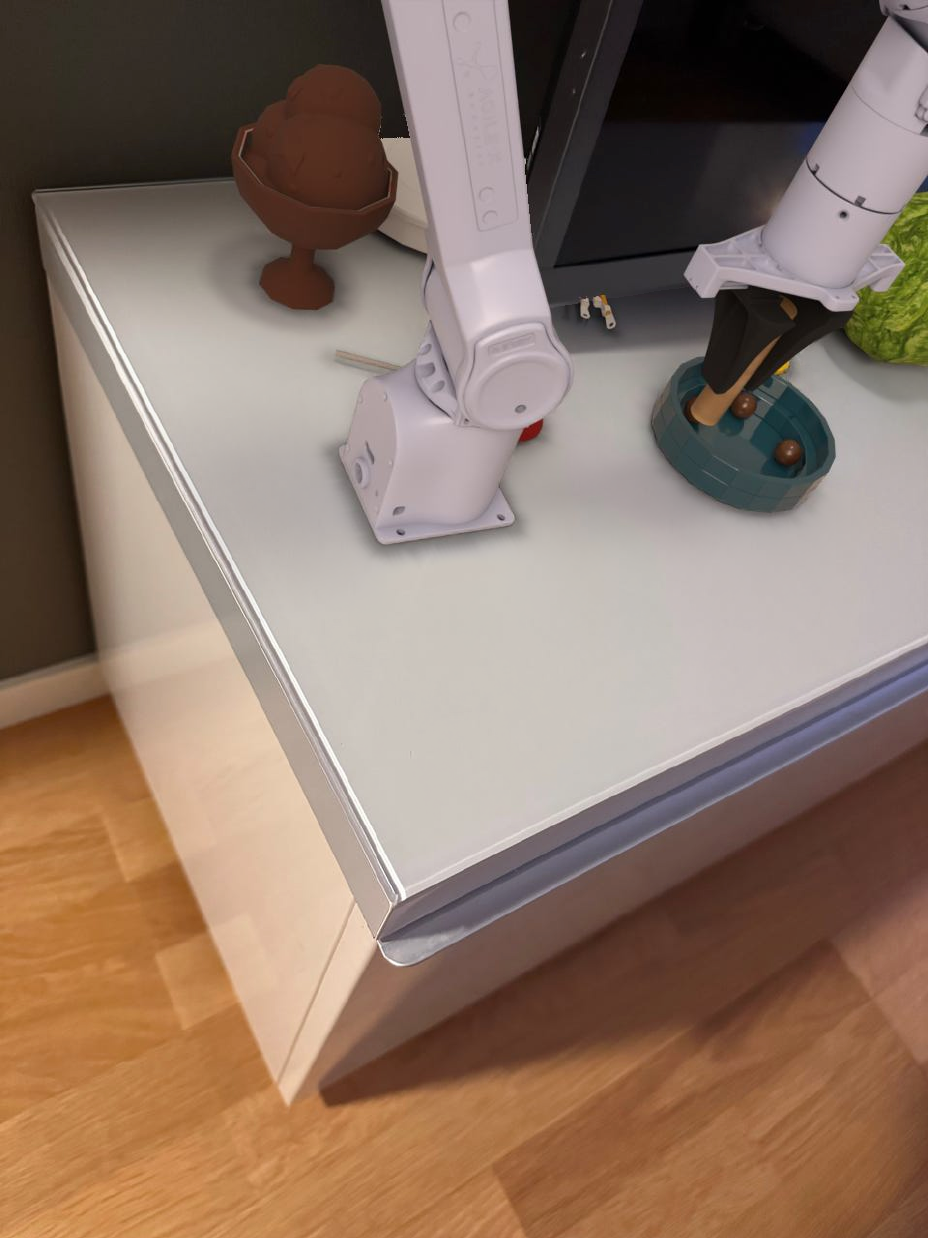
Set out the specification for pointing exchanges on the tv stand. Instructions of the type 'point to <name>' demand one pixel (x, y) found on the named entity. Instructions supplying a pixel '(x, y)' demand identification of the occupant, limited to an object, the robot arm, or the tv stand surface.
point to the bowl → (745, 443)
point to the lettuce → (898, 296)
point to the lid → (406, 197)
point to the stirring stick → (715, 405)
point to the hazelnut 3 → (788, 452)
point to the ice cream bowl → (315, 177)
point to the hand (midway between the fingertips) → (726, 381)
